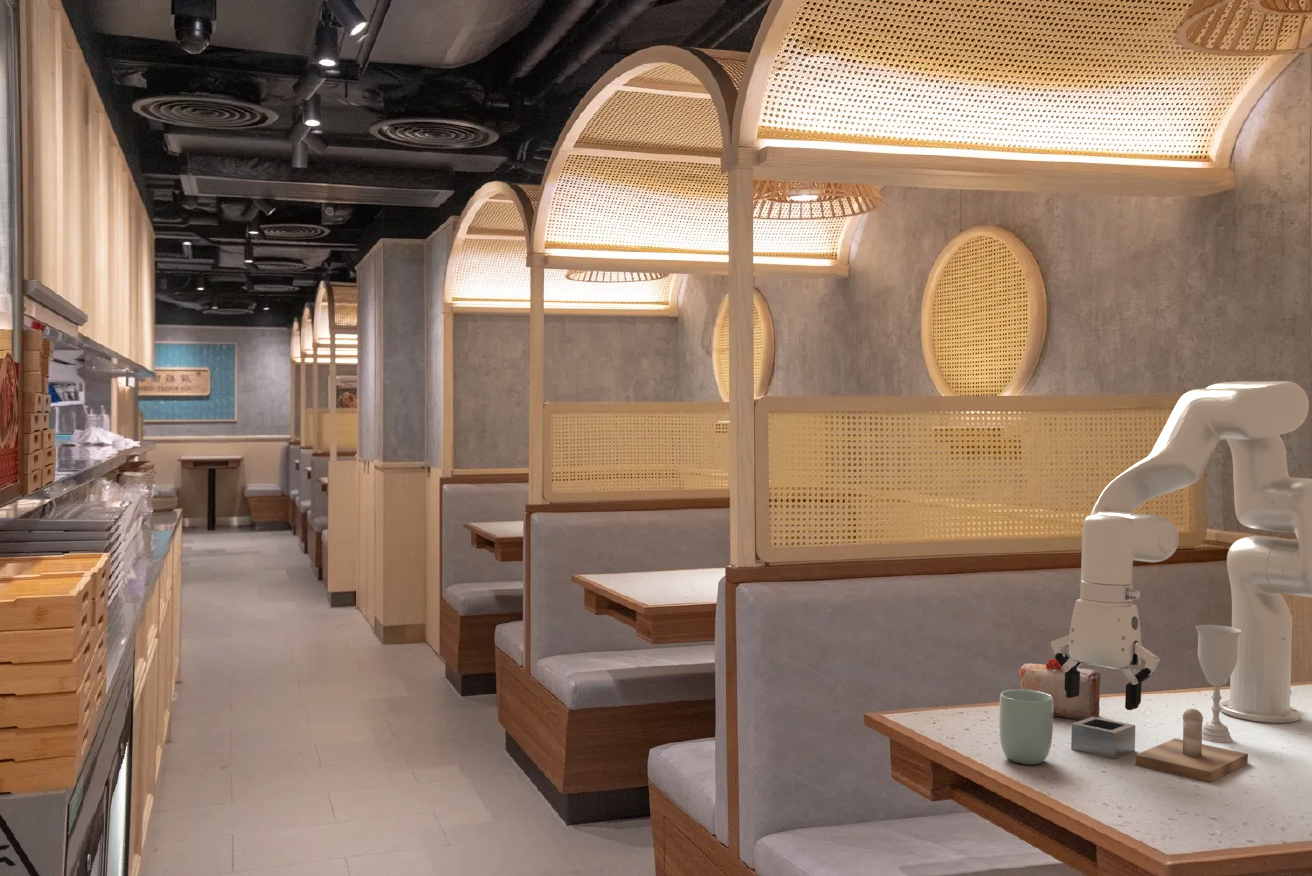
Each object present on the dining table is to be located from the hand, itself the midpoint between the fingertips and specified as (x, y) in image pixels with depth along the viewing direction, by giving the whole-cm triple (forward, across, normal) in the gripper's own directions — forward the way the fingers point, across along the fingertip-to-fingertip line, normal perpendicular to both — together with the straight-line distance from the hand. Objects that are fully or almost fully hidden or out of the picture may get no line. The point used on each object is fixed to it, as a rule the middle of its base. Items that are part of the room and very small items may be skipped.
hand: (1101, 702), depth 183 cm
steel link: (+7, 0, -1) cm, 8 cm away
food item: (+7, +16, -17) cm, 24 cm away
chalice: (+7, -9, -22) cm, 25 cm away
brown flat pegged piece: (+7, -13, -4) cm, 15 cm away
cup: (+8, +5, +14) cm, 17 cm away
